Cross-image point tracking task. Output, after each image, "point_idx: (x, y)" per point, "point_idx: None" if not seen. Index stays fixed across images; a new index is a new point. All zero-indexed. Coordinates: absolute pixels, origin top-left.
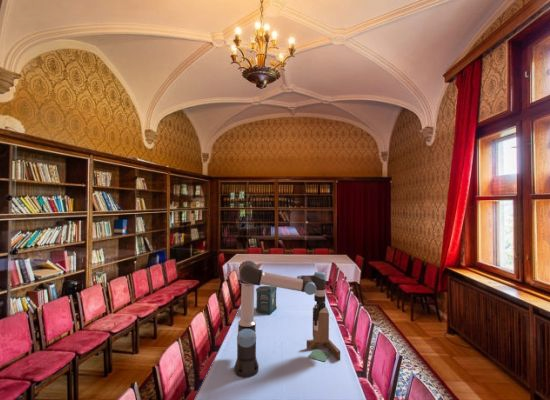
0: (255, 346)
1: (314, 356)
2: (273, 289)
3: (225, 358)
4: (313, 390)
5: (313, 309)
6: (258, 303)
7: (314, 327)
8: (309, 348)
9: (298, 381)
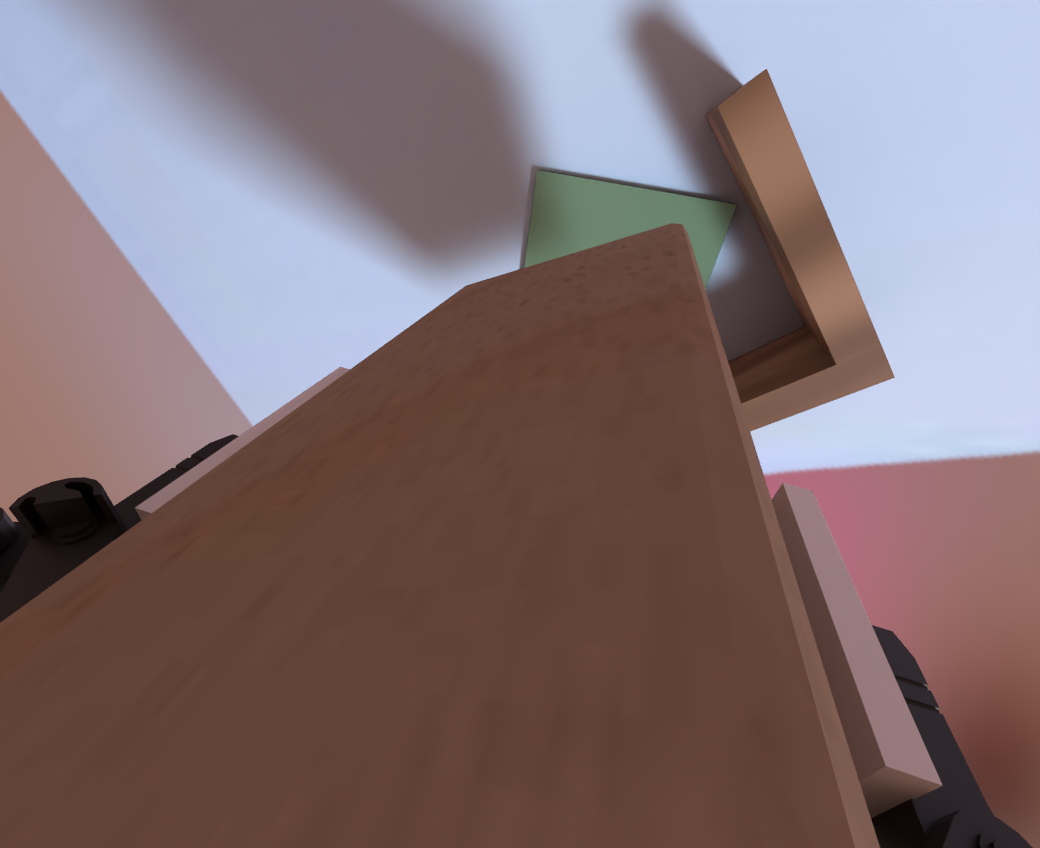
0: None
1: (563, 243)
2: None
3: None
4: (203, 315)
5: None
6: None
7: (306, 400)
8: (718, 139)
9: (199, 194)
